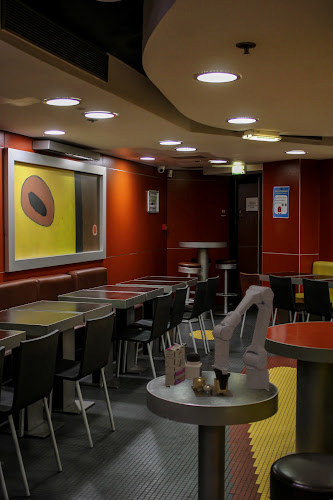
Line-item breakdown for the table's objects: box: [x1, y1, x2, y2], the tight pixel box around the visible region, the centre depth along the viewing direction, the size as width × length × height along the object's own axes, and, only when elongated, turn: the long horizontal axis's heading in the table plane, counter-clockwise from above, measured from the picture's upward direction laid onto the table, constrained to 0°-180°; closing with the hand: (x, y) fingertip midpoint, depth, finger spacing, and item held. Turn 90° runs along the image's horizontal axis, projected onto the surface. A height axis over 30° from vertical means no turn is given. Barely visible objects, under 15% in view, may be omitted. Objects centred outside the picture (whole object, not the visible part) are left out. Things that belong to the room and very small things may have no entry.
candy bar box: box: [164, 344, 186, 388], centre depth 257 cm, size 11×5×16 cm, turn 154°
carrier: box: [190, 376, 234, 398], centre depth 244 cm, size 15×16×6 cm
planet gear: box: [213, 376, 229, 393], centre depth 241 cm, size 6×6×5 cm
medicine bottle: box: [185, 352, 203, 381], centre depth 265 cm, size 7×7×12 cm
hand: (221, 387), depth 241 cm, fingers closed on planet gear, 6 cm apart
